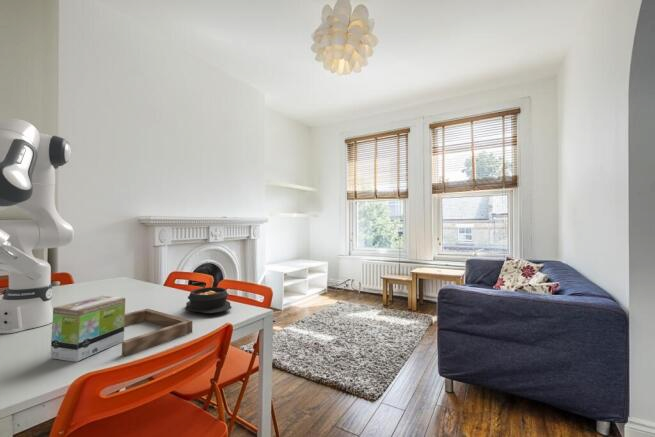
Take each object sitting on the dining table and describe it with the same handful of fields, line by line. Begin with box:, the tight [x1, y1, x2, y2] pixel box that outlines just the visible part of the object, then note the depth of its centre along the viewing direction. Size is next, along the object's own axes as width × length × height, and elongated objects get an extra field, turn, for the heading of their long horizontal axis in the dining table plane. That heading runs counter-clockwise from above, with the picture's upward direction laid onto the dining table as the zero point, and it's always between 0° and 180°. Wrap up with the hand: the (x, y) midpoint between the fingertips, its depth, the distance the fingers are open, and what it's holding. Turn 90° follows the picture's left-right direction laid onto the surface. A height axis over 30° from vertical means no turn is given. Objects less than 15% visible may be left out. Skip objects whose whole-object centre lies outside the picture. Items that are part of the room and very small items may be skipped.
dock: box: [121, 308, 194, 358], centre depth 102 cm, size 22×28×4 cm
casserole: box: [185, 286, 233, 314], centre depth 132 cm, size 25×19×8 cm
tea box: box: [50, 295, 126, 363], centre depth 90 cm, size 15×10×15 cm, turn 168°
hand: (37, 277), depth 79 cm, fingers closed
